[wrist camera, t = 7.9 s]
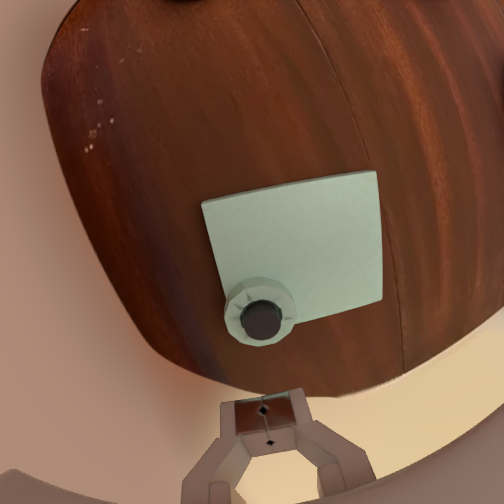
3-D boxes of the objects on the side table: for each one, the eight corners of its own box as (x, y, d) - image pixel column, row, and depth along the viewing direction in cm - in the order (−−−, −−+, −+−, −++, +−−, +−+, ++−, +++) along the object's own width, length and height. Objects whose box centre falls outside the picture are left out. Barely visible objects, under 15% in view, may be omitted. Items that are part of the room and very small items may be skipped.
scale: (234, 331, 25) (234, 351, 22) (198, 202, 21) (193, 209, 18) (375, 296, 25) (389, 311, 22) (368, 169, 21) (386, 172, 18)
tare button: (247, 332, 22) (248, 344, 21) (239, 304, 21) (240, 315, 20) (280, 325, 22) (283, 336, 21) (275, 297, 21) (278, 307, 20)
